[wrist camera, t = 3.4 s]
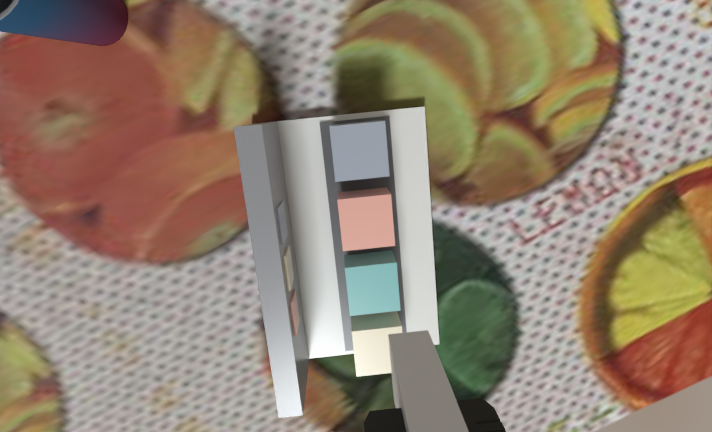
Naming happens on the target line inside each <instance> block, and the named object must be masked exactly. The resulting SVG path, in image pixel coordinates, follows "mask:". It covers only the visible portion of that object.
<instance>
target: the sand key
mask: <svg viewBox="0 0 712 432" xmlns="http://www.w3.org/2000/svg"><path fill="white" fill-rule="evenodd" d="M351 330H352V340H353V349H354V358H355V367H356V376H357V377H358V376H367V375H376V374H385V373H392V371H391V360H390V349H389V338H388V334H396V333H402V325H401V322H400V318H399V315H398V312H397V311H393V312H384V313H374V314H365V315H356V316H351Z"/></svg>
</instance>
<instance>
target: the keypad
mask: <svg viewBox="0 0 712 432" xmlns="http://www.w3.org/2000/svg"><path fill="white" fill-rule="evenodd" d="M376 120H384V121H385V125H386V137H387V150H388V162H389V174H390V176H388V177H378V178H369V179H359V180H349V181H340V182H335V174H334V165H333V156H332V147H331V138H330V129H329V126H330V125H336V124H346V123H356V122H366V121H376ZM234 133H235V139H236V145H237V152H238V158H239V165H240V171H241V178H242V184H243V190H244V197H245V203H246V210H247V216H248V223H249V229H250V235H251V242H252V248H253V255H254V261H255V268H256V274H257V280H258V287H259V293H260V300H261V306H262V312H263V319H264V325H265V332H266V338H267V345H268V351H269V357H270V364H271V370H272V377H273V383H274V390H275V396H276V402H277V409H278V415H279V418H282V417H291V416H300V415H303V408H304V400H305V391H306V382H307V373H308V364H309V359H310V358H319V357H328V356H337V355H346V354H354V349H353V340H352V330H351V316H350V312H349V303H348V294H347V285H346V275H345V264H344V255H353V254H362V253H372V252H381V251H391V250H392V252H393V254H394V257H395V259H396V262H397V272H398V285H399V297H400V309H401V311H397V312H398V315H399V318H400V322H401V325H402V333H406V332H415V331H425V330H428V331H429V334H430V336H431V339H432V341H433V344H434V345H437V344H439V331H438V315H437V298H436V282H435V266H434V250H433V234H432V217H431V201H430V185H429V169H428V153H427V137H426V120H425V107H414V108H404V109H394V110H384V111H374V112H364V113H354V114H344V115H334V116H324V117H314V118H304V119H294V120H284V121H274V122H265V123H255V124H249V125H243V126H237V127H234ZM385 187H387V189H388V190H389V192H390V193H391V199H392V211H393V223H394V236H395V246H389V247H380V248H370V249H361V250H351V251H343V248H342V239H341V229H340V220H339V211H338V202H337V192H346V191H356V190H365V189H375V188H385Z"/></svg>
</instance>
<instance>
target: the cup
mask: <svg viewBox="0 0 712 432" xmlns="http://www.w3.org/2000/svg"><path fill="white" fill-rule="evenodd" d="M127 22H128V16H127V10H126V7H125V5H124V3H123V1H122V0H0V31H1V32H8V33H15V34H22V35H29V36H36V37H43V38H50V39H56V40H63V41H70V42H77V43H84V44H91V45H98V46H106V45H110V44H113V43H115V42H116V41H118V40H119V39H120V38H121V37H122V36H123V34H124V32H125V30H126V27H127Z"/></svg>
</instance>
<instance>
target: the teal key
mask: <svg viewBox="0 0 712 432" xmlns="http://www.w3.org/2000/svg"><path fill="white" fill-rule="evenodd" d="M344 264H345V275H346V285H347V294H348V303H349V312H350V316H356V315H365V314H374V313H384V312H393V311H401V309H400V297H399V285H398V272H397V262H396V259H395V257H394V254H393V252H392V250H391V251H381V252H372V253H362V254H353V255H344Z"/></svg>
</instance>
